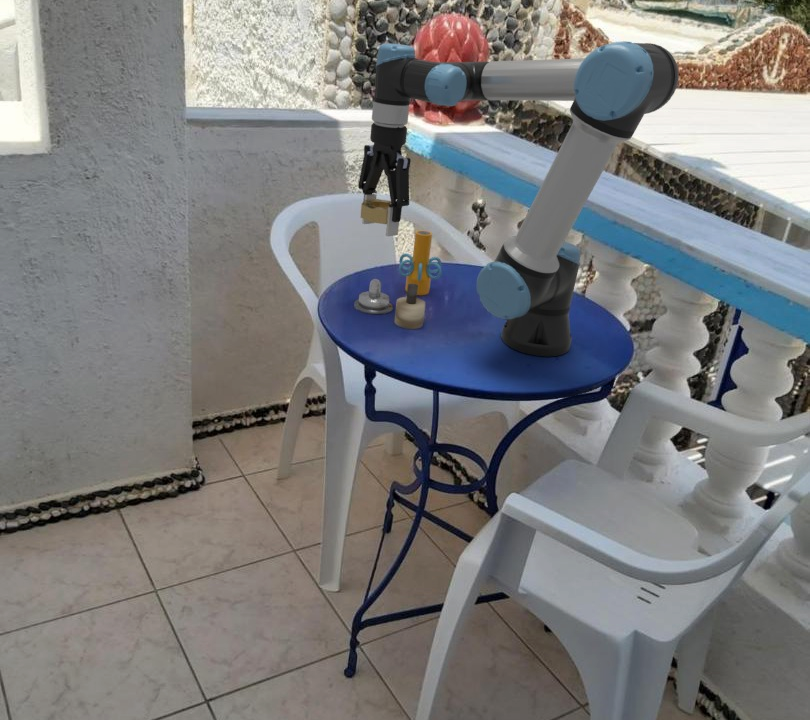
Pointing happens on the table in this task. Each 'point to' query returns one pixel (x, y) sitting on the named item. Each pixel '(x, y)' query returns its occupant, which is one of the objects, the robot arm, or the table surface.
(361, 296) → the hub
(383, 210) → the ring
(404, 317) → the stand
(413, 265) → the cylinder
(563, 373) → the table surface
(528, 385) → the table surface
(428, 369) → the table surface
